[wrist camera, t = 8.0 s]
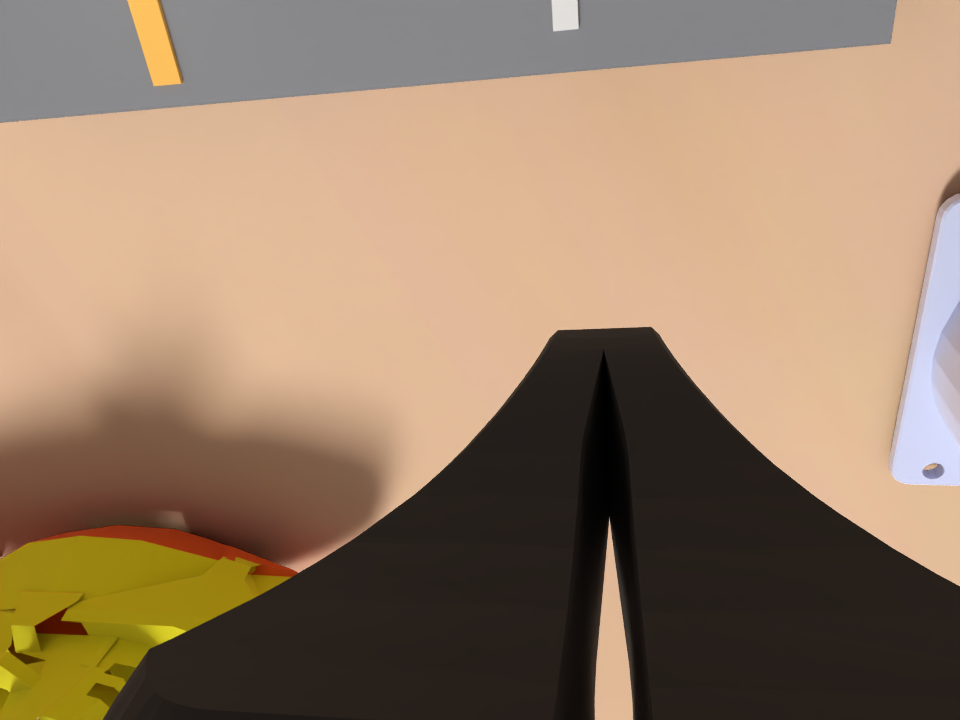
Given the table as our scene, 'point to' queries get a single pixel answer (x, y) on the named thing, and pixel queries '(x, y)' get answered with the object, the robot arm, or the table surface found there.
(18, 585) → the toy boat
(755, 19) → the console board
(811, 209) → the table surface
